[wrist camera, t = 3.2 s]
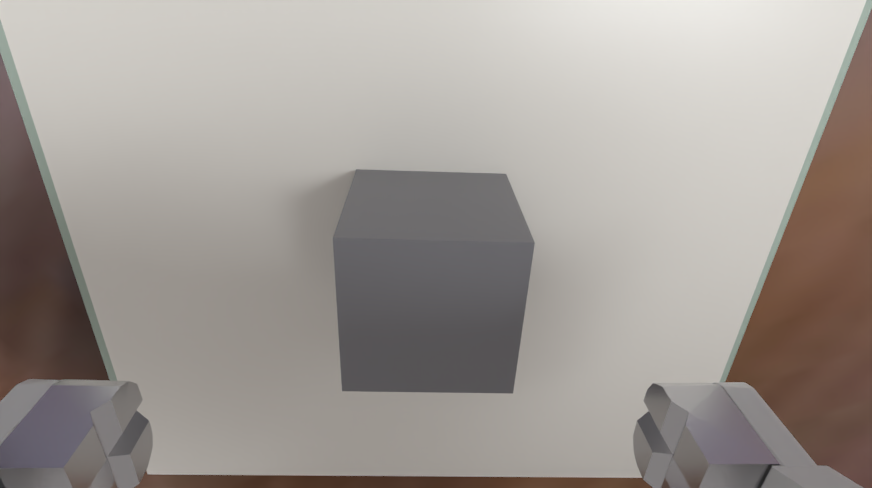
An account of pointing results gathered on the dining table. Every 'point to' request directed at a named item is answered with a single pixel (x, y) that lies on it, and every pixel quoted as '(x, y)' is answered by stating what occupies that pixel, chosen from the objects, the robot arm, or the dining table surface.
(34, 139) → the mat
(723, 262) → the lid
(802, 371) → the dining table surface
